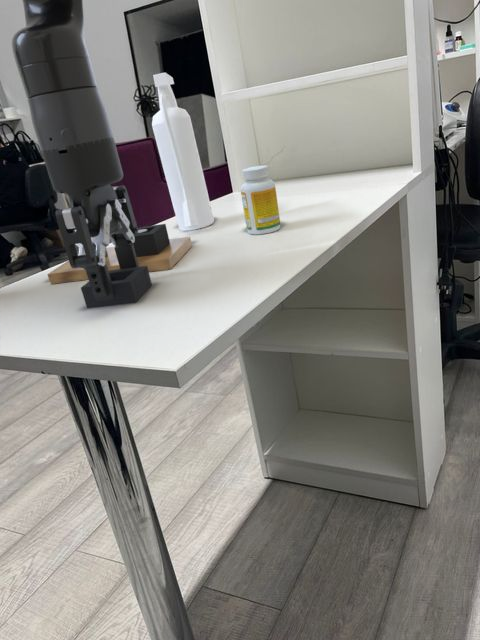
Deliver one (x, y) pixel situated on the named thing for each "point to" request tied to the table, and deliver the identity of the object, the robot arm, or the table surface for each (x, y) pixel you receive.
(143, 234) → the black square holder
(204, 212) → the white spray bottle
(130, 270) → the dark grey square ring
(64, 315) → the table surface
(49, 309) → the table surface
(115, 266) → the wooden board
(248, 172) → the supplement bottle
